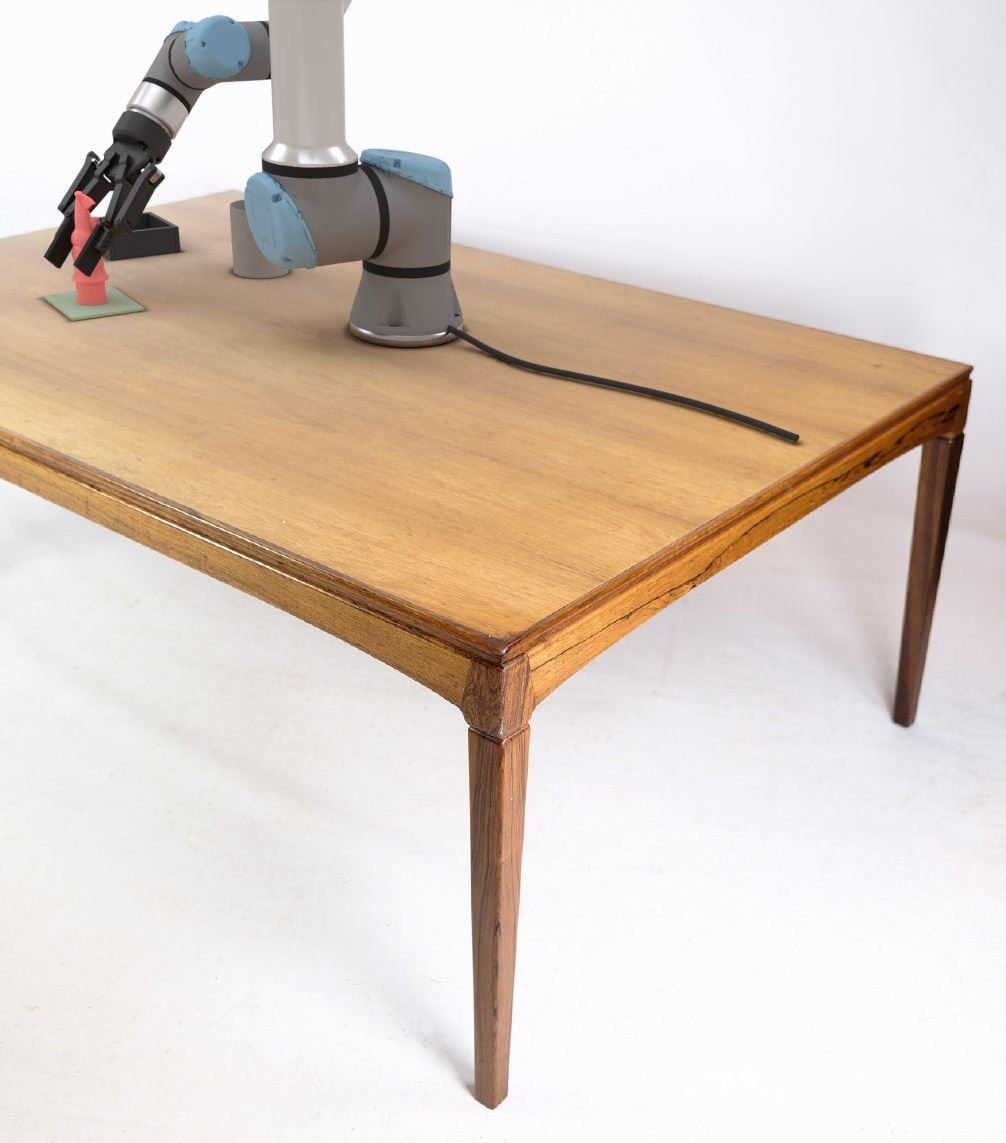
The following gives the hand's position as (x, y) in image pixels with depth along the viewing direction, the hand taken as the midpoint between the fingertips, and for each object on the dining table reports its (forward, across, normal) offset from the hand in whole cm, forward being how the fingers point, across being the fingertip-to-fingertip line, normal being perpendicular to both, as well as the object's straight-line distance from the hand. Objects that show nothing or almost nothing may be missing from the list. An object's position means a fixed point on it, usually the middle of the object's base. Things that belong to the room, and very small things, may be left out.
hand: (66, 266), depth 174 cm
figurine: (+2, 0, -7) cm, 7 cm away
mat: (+2, 0, -7) cm, 7 cm away
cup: (-18, -5, -27) cm, 33 cm away
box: (-15, +20, -24) cm, 35 cm away
